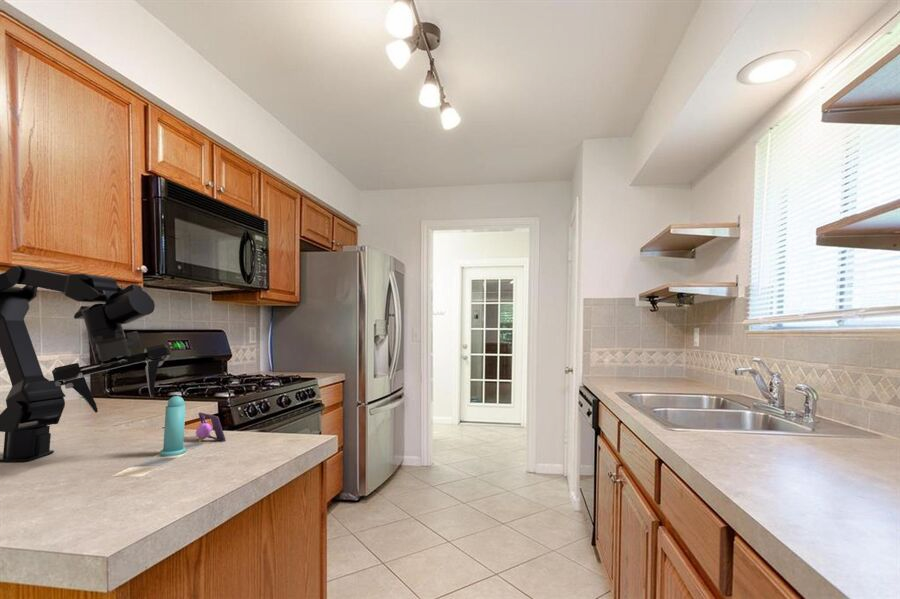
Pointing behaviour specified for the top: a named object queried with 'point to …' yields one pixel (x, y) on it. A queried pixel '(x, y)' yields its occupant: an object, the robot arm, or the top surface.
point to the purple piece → (209, 427)
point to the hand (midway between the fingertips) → (125, 404)
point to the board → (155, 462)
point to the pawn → (174, 427)
